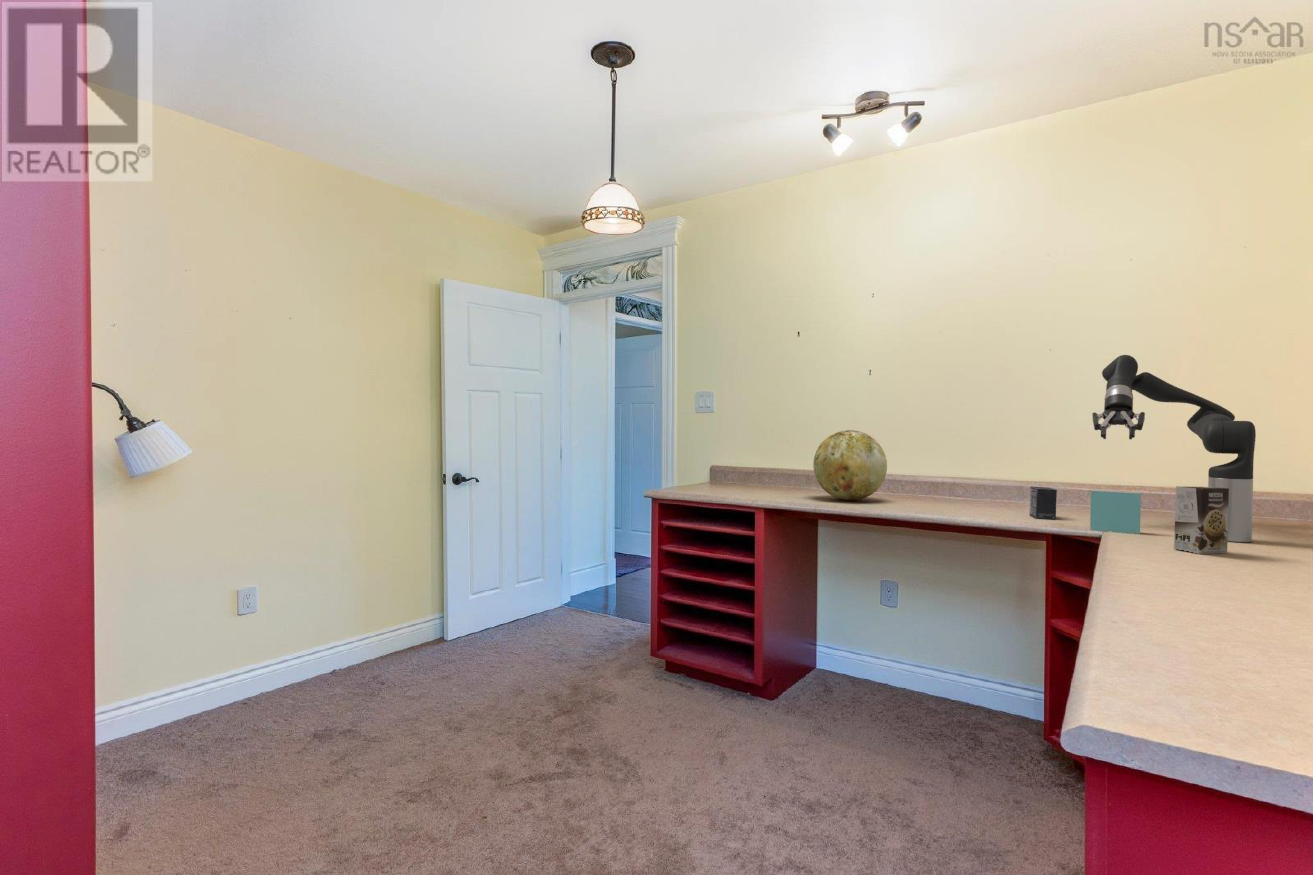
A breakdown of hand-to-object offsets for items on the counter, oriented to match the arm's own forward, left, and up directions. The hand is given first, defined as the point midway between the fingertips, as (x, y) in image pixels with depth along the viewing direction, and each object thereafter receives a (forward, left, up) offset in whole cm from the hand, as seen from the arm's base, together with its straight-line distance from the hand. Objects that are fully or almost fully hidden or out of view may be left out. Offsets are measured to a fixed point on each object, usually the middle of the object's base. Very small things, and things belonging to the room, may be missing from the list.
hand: (1117, 437), depth 196 cm
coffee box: (+25, +35, -29) cm, 51 cm away
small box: (+1, -23, -29) cm, 37 cm away
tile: (+10, +6, -28) cm, 31 cm away
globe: (+31, -88, -28) cm, 98 cm away
